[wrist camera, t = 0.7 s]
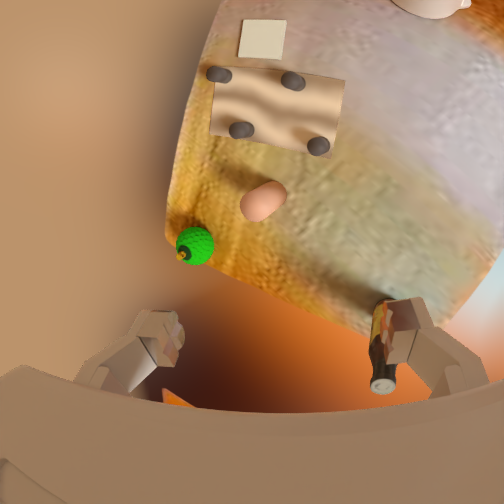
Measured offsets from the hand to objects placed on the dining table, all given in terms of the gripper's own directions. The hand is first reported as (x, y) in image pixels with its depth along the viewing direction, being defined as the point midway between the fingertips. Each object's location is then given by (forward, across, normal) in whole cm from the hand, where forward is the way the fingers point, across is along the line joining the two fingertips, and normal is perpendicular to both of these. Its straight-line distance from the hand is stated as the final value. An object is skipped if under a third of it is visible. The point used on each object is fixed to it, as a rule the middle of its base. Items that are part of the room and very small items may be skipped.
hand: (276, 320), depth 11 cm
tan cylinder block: (+43, +5, +11) cm, 45 cm away
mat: (+47, +2, -19) cm, 51 cm away
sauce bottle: (+34, -16, +33) cm, 50 cm away
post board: (+46, +3, -5) cm, 46 cm away
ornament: (+47, +22, +20) cm, 55 cm away
